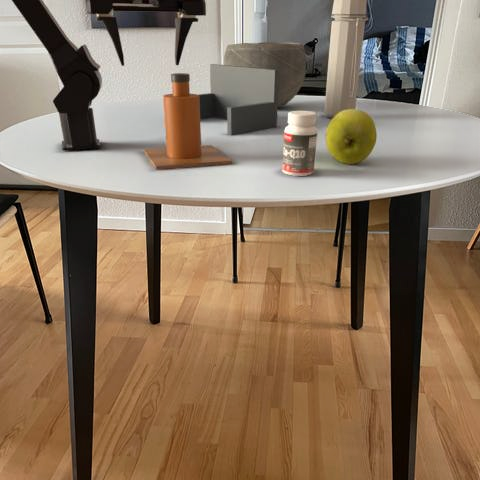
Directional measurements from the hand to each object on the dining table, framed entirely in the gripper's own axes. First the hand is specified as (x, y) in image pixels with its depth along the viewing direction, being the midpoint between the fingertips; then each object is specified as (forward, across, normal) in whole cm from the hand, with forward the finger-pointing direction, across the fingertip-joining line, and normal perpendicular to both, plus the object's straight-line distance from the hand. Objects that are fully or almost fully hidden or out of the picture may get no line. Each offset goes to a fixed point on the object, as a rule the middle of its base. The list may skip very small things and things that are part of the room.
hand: (150, 65), depth 85 cm
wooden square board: (+13, -3, +12) cm, 18 cm away
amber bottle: (+12, -3, +12) cm, 18 cm away
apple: (+13, -28, +22) cm, 38 cm away
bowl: (+13, -34, -38) cm, 52 cm away
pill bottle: (+13, -18, +26) cm, 34 cm away
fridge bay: (+13, -16, -16) cm, 26 cm away
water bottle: (+13, -46, -18) cm, 51 cm away
